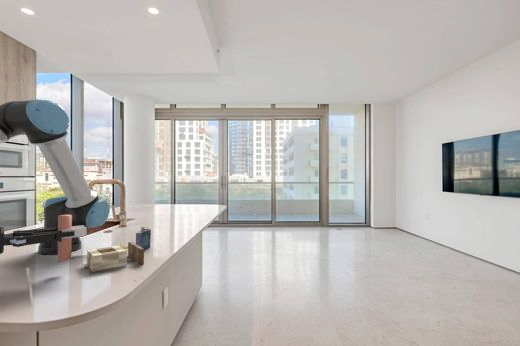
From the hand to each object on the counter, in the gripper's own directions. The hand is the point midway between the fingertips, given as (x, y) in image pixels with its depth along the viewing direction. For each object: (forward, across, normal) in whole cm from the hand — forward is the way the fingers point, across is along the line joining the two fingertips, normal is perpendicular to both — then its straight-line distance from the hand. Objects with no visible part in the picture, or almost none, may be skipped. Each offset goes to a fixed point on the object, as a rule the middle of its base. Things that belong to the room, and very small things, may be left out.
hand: (84, 230), depth 89 cm
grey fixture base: (+9, 0, -14) cm, 17 cm away
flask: (+23, -14, -15) cm, 31 cm away
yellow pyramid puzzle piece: (+15, -23, -15) cm, 32 cm away
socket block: (+6, 0, -13) cm, 15 cm away
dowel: (-5, 0, -8) cm, 10 cm away
